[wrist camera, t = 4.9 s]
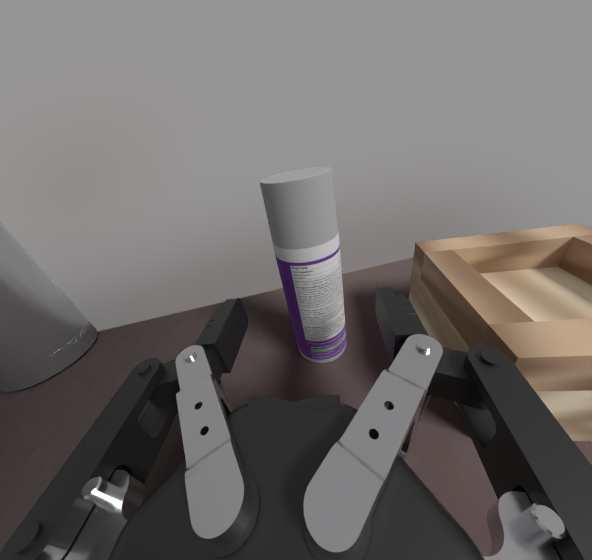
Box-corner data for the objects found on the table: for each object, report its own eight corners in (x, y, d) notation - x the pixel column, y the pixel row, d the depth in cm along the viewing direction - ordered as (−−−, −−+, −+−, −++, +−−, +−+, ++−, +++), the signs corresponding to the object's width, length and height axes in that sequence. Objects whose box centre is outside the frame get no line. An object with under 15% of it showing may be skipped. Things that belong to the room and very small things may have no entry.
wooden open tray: (473, 439, 13) (518, 358, 9) (407, 308, 23) (415, 242, 19) (734, 443, 11) (928, 343, 7) (540, 299, 21) (579, 223, 17)
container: (296, 329, 24) (260, 176, 16) (340, 321, 23) (326, 163, 16) (299, 367, 20) (253, 188, 12) (352, 358, 19) (342, 170, 12)
